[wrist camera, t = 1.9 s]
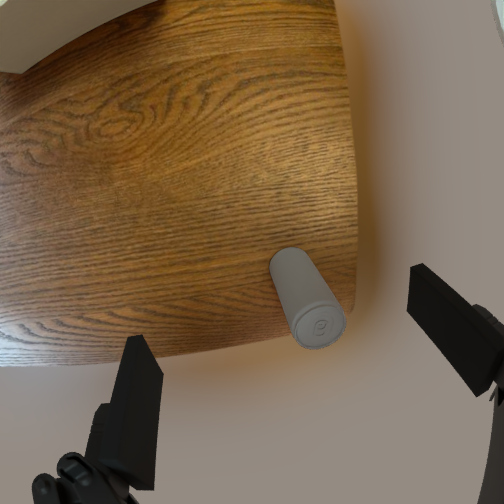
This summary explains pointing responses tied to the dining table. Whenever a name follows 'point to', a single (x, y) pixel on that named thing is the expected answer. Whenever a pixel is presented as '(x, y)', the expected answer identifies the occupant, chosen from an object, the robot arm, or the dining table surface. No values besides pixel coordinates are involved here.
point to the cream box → (50, 26)
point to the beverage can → (306, 299)
